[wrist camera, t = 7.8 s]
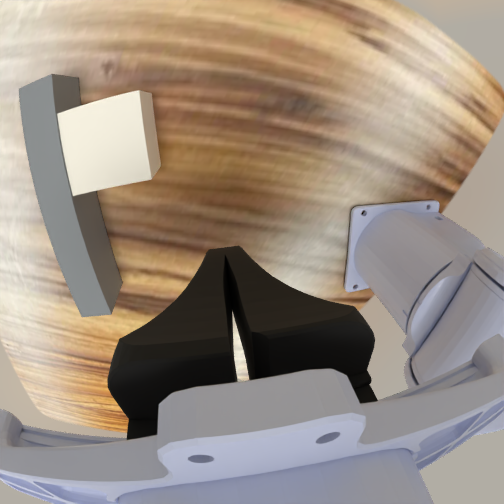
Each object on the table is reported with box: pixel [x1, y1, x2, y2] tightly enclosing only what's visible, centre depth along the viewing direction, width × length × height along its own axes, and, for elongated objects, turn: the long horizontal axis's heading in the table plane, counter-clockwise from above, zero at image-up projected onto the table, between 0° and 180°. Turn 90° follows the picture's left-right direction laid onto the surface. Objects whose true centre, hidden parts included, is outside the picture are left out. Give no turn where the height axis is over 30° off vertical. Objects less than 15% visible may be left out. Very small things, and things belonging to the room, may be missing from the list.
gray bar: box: [19, 74, 123, 317], centre depth 16 cm, size 2×16×4 cm, turn 4°
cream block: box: [57, 90, 161, 196], centre depth 15 cm, size 5×5×4 cm
